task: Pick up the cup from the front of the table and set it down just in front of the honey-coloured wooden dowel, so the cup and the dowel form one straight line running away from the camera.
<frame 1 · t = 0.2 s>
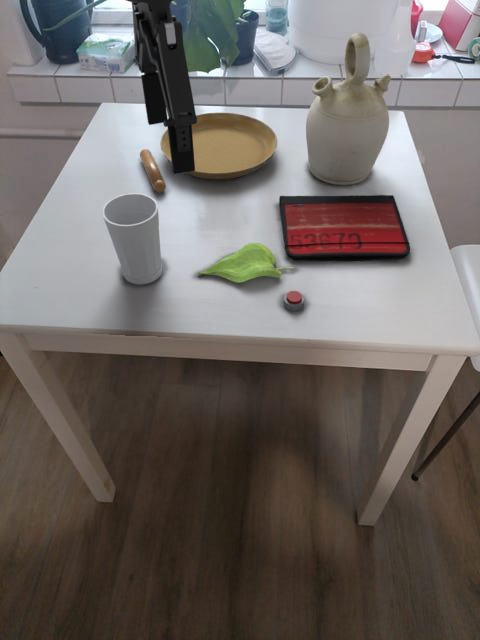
hand: (170, 145, 65), 21 cm above the table, tool pointing down, fingers open, 13 cm apart
notebook: (341, 232, 86), on the table
jug: (339, 170, 99), on the table
plant saucer: (219, 155, 103), on the table
push button: (293, 303, 74), on the table
dowel: (153, 175, 98), on the table
cup: (143, 271, 79), on the table
leaf: (246, 268, 80), on the table
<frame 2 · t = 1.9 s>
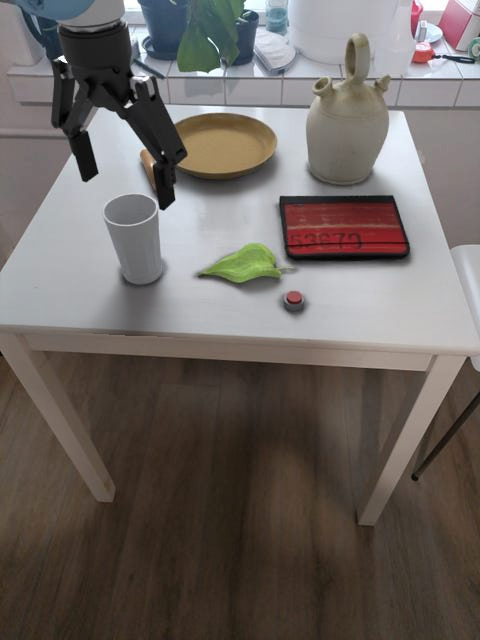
hand: (127, 190, 68), 15 cm above the table, tool pointing down, fingers open, 13 cm apart
nothing on the table moved.
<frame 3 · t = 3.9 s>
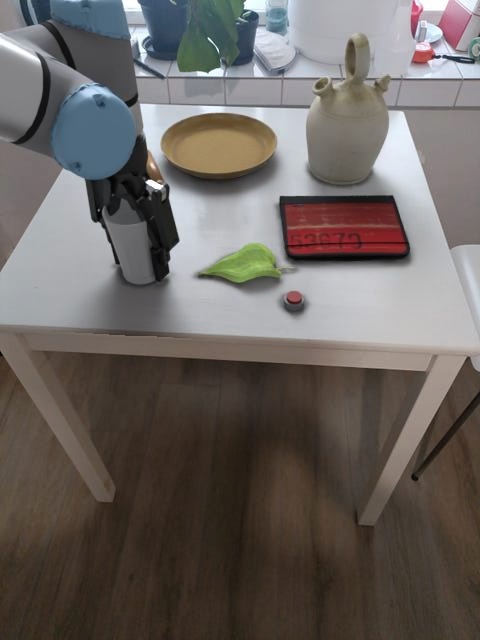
hand: (142, 267, 79), 1 cm above the table, tool pointing down, fingers closed on cup, 7 cm apart
cup: (143, 271, 79), on the table, touching gripper
everything else where it was.
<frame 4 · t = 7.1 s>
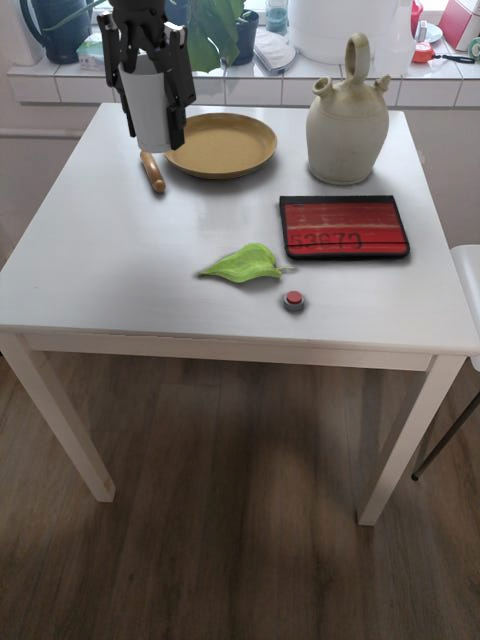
hand: (157, 139, 78), 15 cm above the table, tool pointing down, fingers closed on cup, 7 cm apart
cup: (158, 144, 78), point 14 cm above the table, touching gripper
everything else where it was.
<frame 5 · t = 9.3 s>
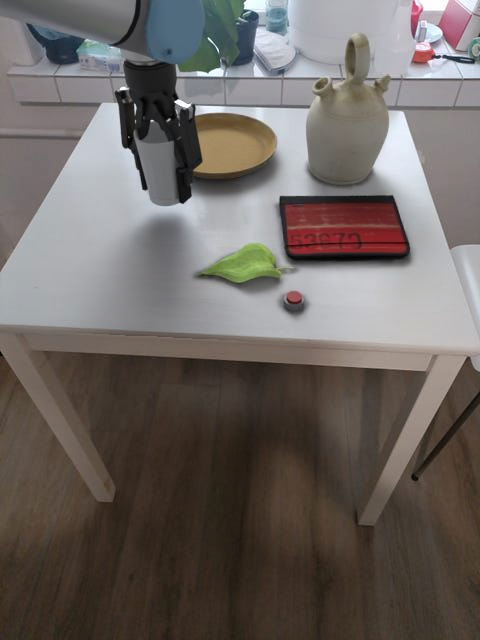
hand: (166, 192, 87), 4 cm above the table, tool pointing down, fingers closed on cup, 7 cm apart
cup: (167, 196, 87), point 3 cm above the table, touching gripper
everything else where it was.
when the fingers open (1 cm above the table, at t = 10.6 s): cup stays where it is, on the table.
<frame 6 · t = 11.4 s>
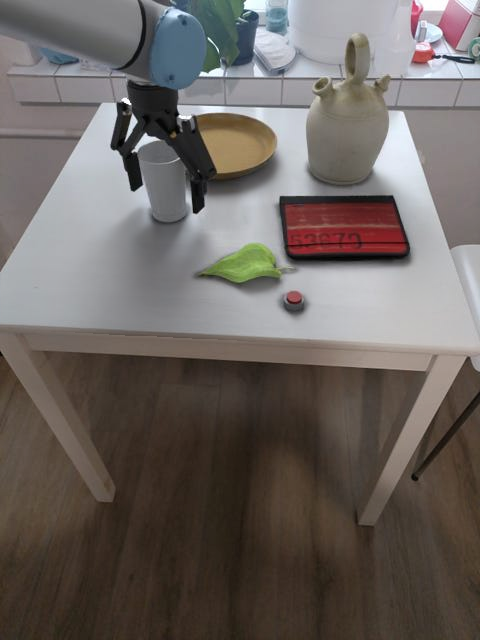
hand: (167, 198, 87), 3 cm above the table, tool pointing down, fingers open, 13 cm apart
cup: (169, 212, 90), on the table
everything else where it was.
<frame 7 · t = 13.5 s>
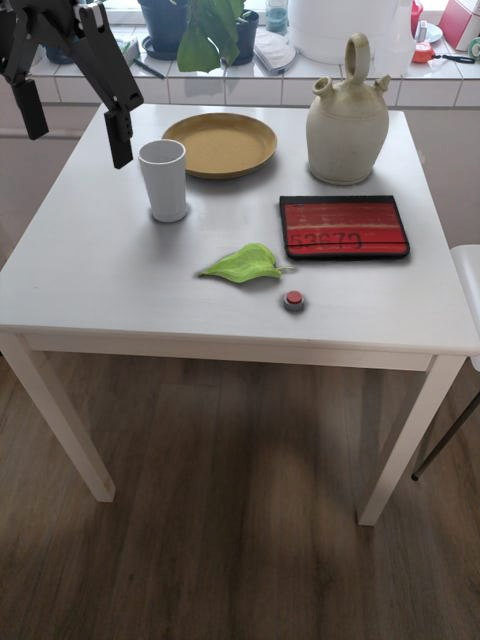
hand: (80, 149, 60), 23 cm above the table, tool pointing down, fingers open, 13 cm apart
nothing on the table moved.
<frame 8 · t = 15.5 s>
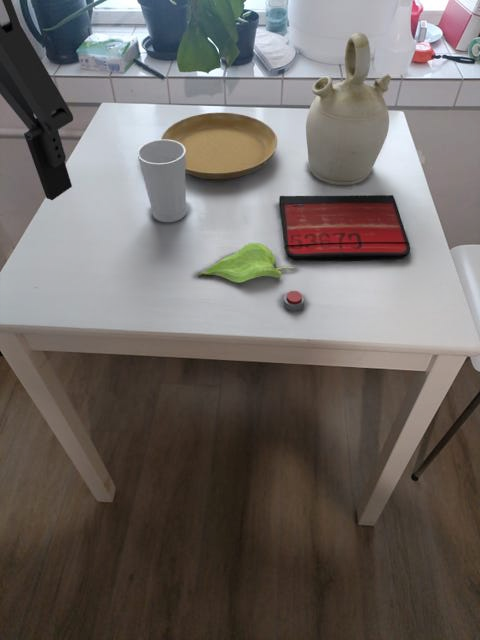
hand: (10, 173, 50), 27 cm above the table, tool pointing down, fingers open, 13 cm apart
nothing on the table moved.
at the end: cup 0.1 cm from the target spot on the table beside the dowel, on the table; cup tilted 0°; dowel moved 0.0 cm from its start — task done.
